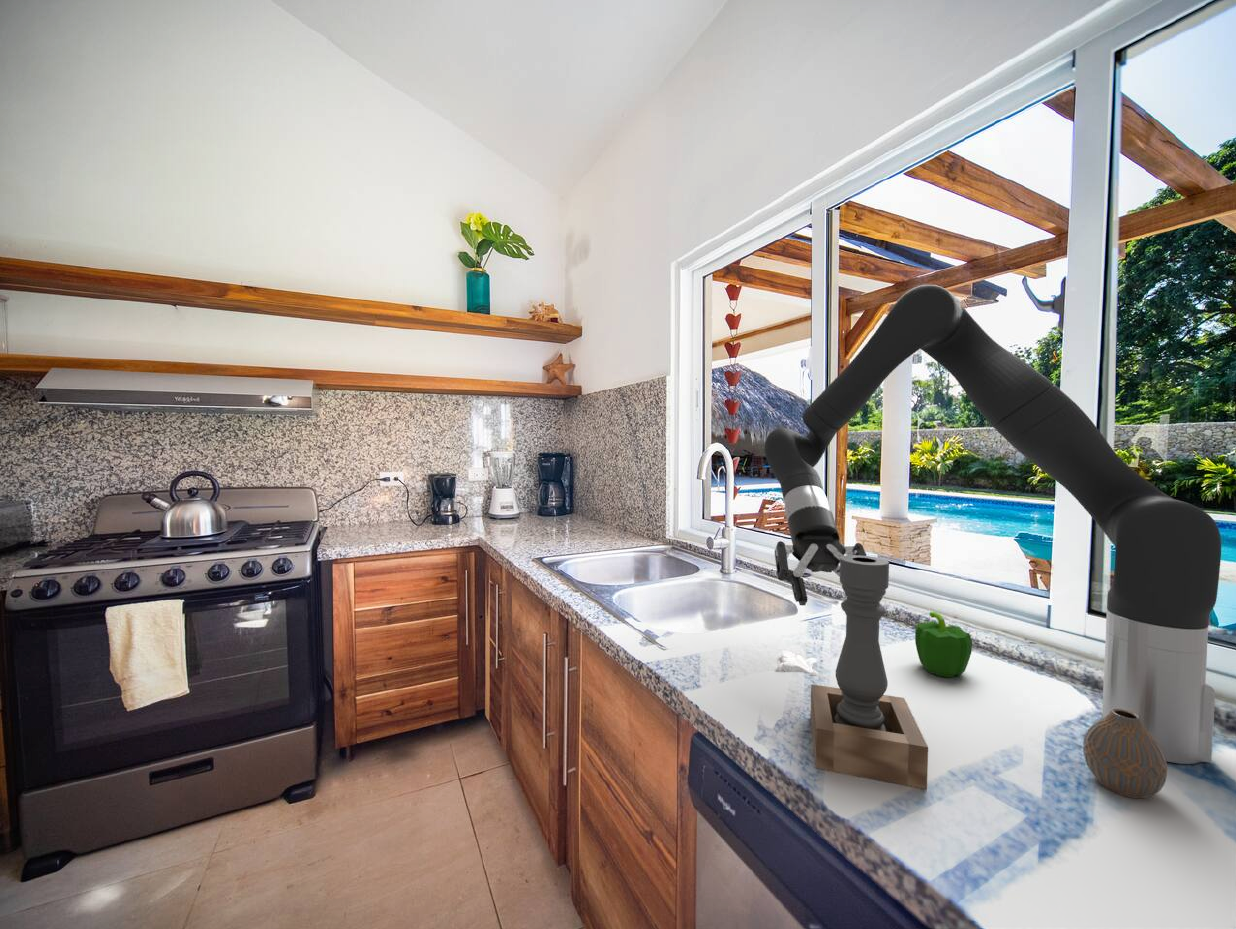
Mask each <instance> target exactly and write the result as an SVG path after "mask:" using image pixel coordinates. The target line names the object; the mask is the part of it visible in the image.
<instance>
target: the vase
mask: <svg viewBox="0 0 1236 929" xmlns="http://www.w3.org/2000/svg"><path fill="white" fill-rule="evenodd" d="M1082 742H1083V743H1082V745H1083V746H1082V748H1083V749H1082V750H1083V757H1084V761H1085V764H1086V766H1087V767H1088V770H1089V771H1090V772H1091V774H1092V775H1093V777H1095V779H1096V780H1097V781H1098V782H1099V783H1100V784H1101V785H1103V786H1104V787H1105V788H1107V789H1108V790H1110V791H1113V793H1117V794H1119V795H1122V796H1125V797H1128V798H1133V799H1147V798H1150V797H1152V796H1154V795H1156V794H1158V793H1159V792H1160V791H1161V790H1162V789H1163V787H1164V786H1165V784H1166V782H1167V776H1168V763H1167V761H1166V759H1165V756H1164V753H1163V751H1162V749H1161V747H1160V745H1159V744H1158V742H1157V741H1156V740H1155V739H1154V737H1153V736H1152V735H1151V734H1150V733H1149V731H1148V730H1147V729H1146V728H1145V726H1144V725H1143V723H1142V721H1141V719H1140V717H1139V716H1138V715H1136V714H1134V713H1132V712H1129V711H1126V710H1122V709H1112V710H1111V711H1110V712H1109V714H1108V715H1107V716H1105V717H1104V718H1101V719H1099V720H1097V721H1095V722H1094V723H1093V724H1091V726H1089V728H1088V729H1087V731H1086V733H1085V734H1084V737H1083V741H1082Z"/></svg>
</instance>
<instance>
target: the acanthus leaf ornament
mask: <svg viewBox="0 0 1236 929" xmlns="http://www.w3.org/2000/svg"><path fill="white" fill-rule="evenodd" d="M818 663H820V660H819V659H818V658H816V657H809V658H806V659H804V657H803V656H801V655H800V654H797V655H795V653H793V652H791V651H788V650H782V651H781V662H780V663H779V664H778V665H777V668H776V669H777V670H776V671H777V672H782V671H784V672H802V673H805V674H809V675H810V676H813V677H814V676H815V677H818V676H819V673H818V672H817V671H816V670H814V669H813V668H815V667H818Z"/></svg>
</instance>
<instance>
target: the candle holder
mask: <svg viewBox="0 0 1236 929" xmlns="http://www.w3.org/2000/svg"><path fill="white" fill-rule="evenodd" d="M839 566H840V577H839V582H840V584H841V588H842V590H843V592H844V594H845V597H846V599H845V600H843V601H842V602H841V603H840V608H841V610H842V611H843V612H844V614H845V616H846V618H845V637H844V640H843V641H844V642H843V645H842V647H841V651H840V655H839V658H838V661H837V664H836V668H835V679H836V682H837V683H836V684H837V685H838V687H839V688H840V689H841V691H842V696H843V698H844V699H843V700H842V701H841V702H840V703H839V704H838V705H837V707H836V710H837V714H836V716H835V717H834V723H837V724H844V725H850V726H856V727H862V728H868V729H874V730H880V731H886V728H885V726H884V724H883V723H884V720H885V719H884V716H883V713H882V712H881V711H880V709H879V707H878V706H877V705H878V704H879V702H880V701H879V699H880V698H881V697H882V696H883V695H885V693H886V692H887V689H888V678H887V674H886V670H885V669H886V668H885V664H884V660H883V655H882V651H881V647H880V646H881V645H880V620H881V618H882V617H884V616H885V614H886V608H885V607H884V606H883V604H881V601H882V600H883V597H884V596H885V595H886V593H887V592H886V590H887V589H888V588H889V586H890V585H889V582H890V579H889V577H890V576H889V575H890V574H889V573H890V562H889V561H888V560H886V559H884V558H880V557H876V556H872V555H871V556H869V555H867V556H861V555H844V556H842V557H840V563H839Z"/></svg>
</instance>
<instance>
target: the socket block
mask: <svg viewBox="0 0 1236 929" xmlns="http://www.w3.org/2000/svg"><path fill="white" fill-rule="evenodd" d="M843 699H844V698H843V696H842V691H841V689H840V688H837V687H833V686H825V685H819V684H812V683H811V684H810V716H809V717H810V718H809V719H810V727H811V736H812V745H813V746H812V747H813V755H814V764H815V768H816V769H819V770H824V771H825V770H826V771H828V772H829V771H830V772H833V773H841V774H845V775H851V776H854V777H860V778H865V779H871V780H876V781H881V782H885V783H891V784H896V785H902V786H905V787H907V786H908V787H911V786H912V787H913V788H916V787H917V789H922V788H923V790H927V789H928V765H929V759H928V758H929V746H928V744H927V741H926V740H925V738H924V735H923V734H922V732H921V730H920V727H919V726H918V724H917V722H916V720H915V717H914V716H913V713H912V711H911V709H910V706H909V705H908V703H907V701H906V698H905V697H900V696H895V695H894V696H893V695H889V694H888V695H887V694H883V696H882V697H881V698H880V699H879V701H880V702H879V704H878V705H877V706H878V707H879V709H880V711H881V712H882V713H883V716H884V719H885V720H884V723H883V724H884V726H885V728H886V731H880V730H874V729H868V728H862V727H856V726H850V725H844V724H837V723H834V717H835V716H836V714H837V710H836V707H837V705H838V704H839V703H840V702H841V701H842V700H843Z"/></svg>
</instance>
